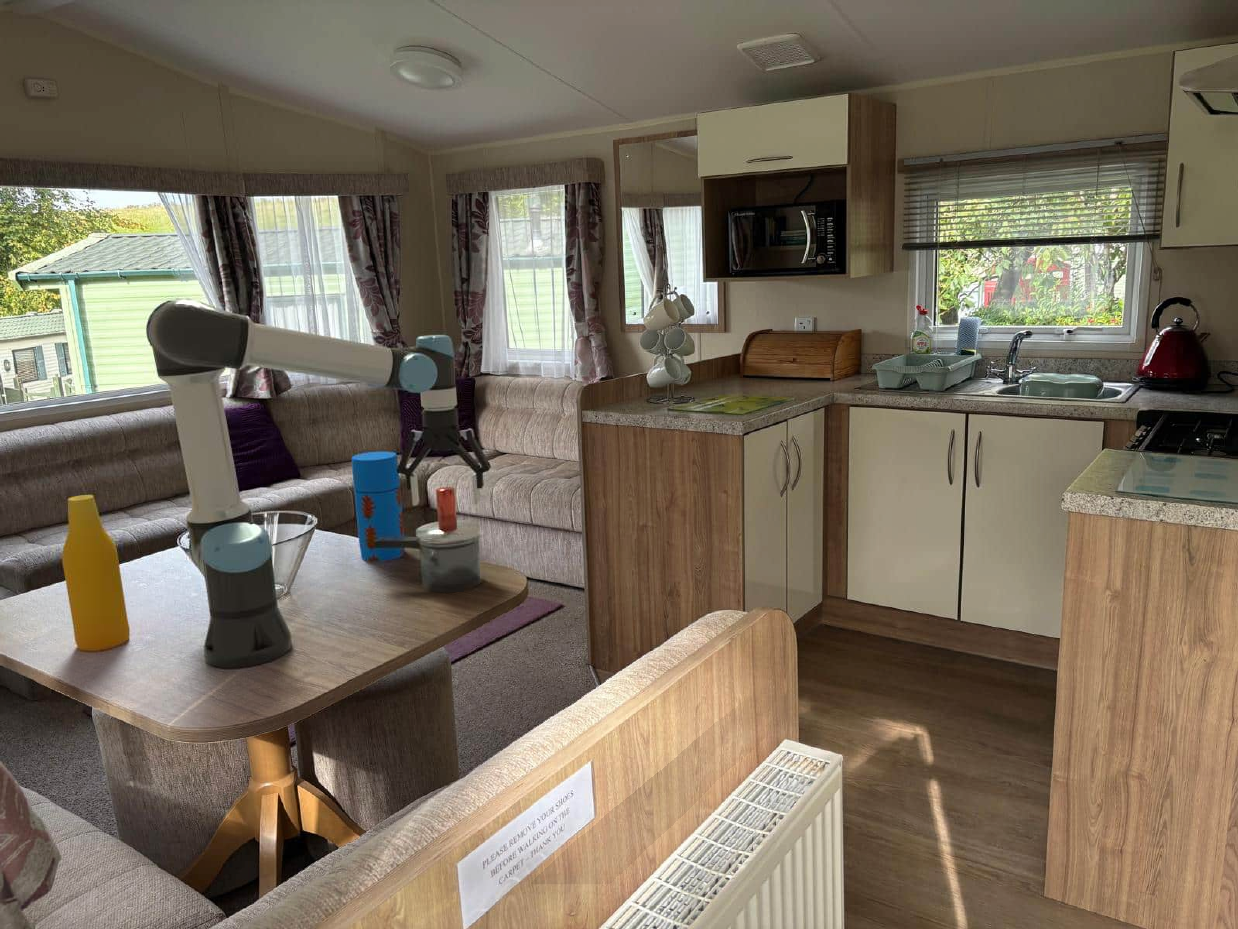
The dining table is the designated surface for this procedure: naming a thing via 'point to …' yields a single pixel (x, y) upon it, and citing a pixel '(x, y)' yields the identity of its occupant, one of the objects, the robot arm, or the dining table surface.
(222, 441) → the robot arm
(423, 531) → the lid
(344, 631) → the dining table surface
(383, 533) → the thermos
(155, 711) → the dining table surface
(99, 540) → the beer bottle
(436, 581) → the pot
